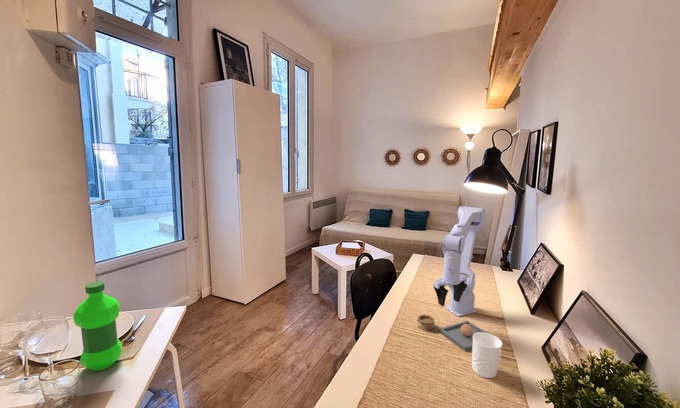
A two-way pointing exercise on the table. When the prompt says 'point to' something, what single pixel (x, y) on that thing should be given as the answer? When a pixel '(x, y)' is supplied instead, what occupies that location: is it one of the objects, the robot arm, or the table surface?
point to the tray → (460, 334)
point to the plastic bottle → (98, 328)
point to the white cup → (486, 354)
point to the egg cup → (425, 322)
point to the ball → (466, 330)
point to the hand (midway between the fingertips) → (448, 302)
